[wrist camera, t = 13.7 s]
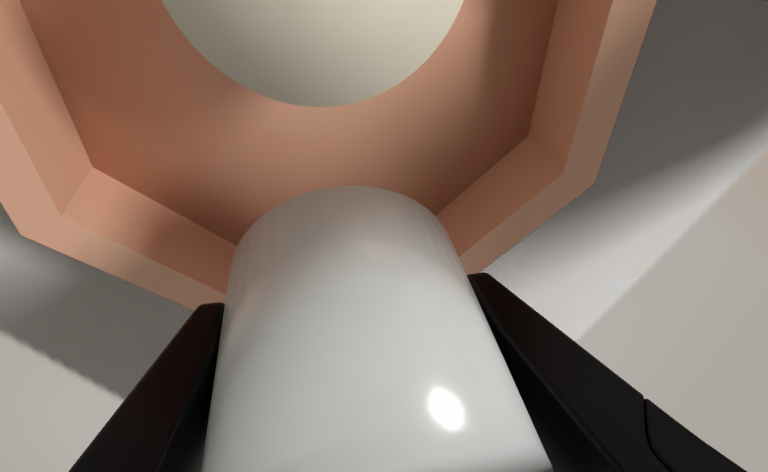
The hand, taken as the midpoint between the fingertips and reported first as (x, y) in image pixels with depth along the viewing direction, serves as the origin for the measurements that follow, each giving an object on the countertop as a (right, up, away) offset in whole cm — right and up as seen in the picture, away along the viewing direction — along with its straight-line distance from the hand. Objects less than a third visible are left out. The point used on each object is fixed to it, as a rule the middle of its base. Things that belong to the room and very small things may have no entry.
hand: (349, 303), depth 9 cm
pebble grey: (0, 0, 0) cm, 1 cm away
